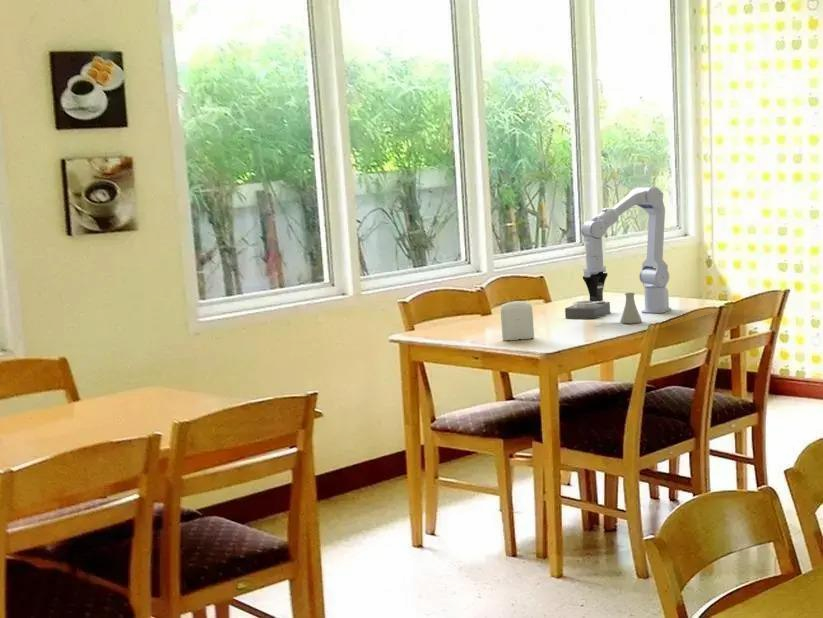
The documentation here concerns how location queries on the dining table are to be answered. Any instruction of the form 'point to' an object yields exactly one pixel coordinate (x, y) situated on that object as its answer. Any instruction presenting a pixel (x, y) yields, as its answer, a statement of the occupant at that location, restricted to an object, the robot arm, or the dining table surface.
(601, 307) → the camera body
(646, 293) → the robot arm
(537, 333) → the dining table surface
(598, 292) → the lens
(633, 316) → the flask
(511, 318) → the white rounded slab
